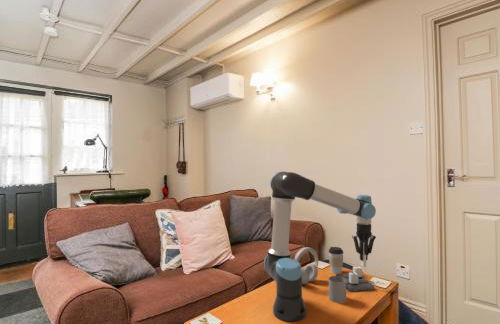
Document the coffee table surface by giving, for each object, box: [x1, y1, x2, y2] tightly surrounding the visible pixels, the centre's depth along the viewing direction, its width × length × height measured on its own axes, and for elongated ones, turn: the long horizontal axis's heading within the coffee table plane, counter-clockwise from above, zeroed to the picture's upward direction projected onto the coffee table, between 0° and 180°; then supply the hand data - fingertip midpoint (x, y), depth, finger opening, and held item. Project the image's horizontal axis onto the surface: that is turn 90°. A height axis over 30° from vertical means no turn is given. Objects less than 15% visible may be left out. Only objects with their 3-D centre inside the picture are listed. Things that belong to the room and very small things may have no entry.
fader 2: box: [348, 271, 358, 284], centre depth 159 cm, size 4×3×5 cm
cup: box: [328, 275, 347, 304], centre depth 146 cm, size 8×8×10 cm
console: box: [335, 273, 375, 292], centre depth 164 cm, size 14×18×3 cm
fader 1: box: [352, 266, 363, 277], centre depth 168 cm, size 4×3×5 cm
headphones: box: [293, 246, 319, 285], centre depth 166 cm, size 19×8×20 cm, turn 126°
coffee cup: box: [328, 246, 344, 275], centre depth 181 cm, size 9×9×15 cm
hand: (363, 265), depth 160 cm, fingers closed
